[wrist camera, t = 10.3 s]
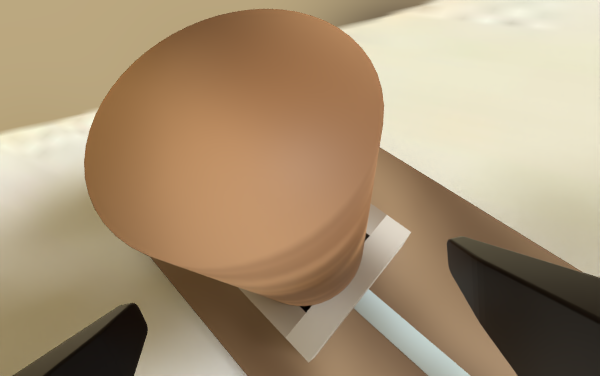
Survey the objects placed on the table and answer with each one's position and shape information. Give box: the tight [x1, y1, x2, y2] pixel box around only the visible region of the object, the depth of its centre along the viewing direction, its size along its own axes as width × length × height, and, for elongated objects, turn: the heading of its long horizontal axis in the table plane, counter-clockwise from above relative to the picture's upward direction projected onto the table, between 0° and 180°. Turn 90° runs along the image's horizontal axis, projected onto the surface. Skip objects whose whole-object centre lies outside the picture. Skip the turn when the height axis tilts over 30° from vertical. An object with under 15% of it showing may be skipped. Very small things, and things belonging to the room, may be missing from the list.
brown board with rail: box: [151, 147, 582, 376], centre depth 15 cm, size 14×22×3 cm, turn 48°
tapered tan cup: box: [84, 9, 384, 306], centre depth 11 cm, size 6×6×12 cm
